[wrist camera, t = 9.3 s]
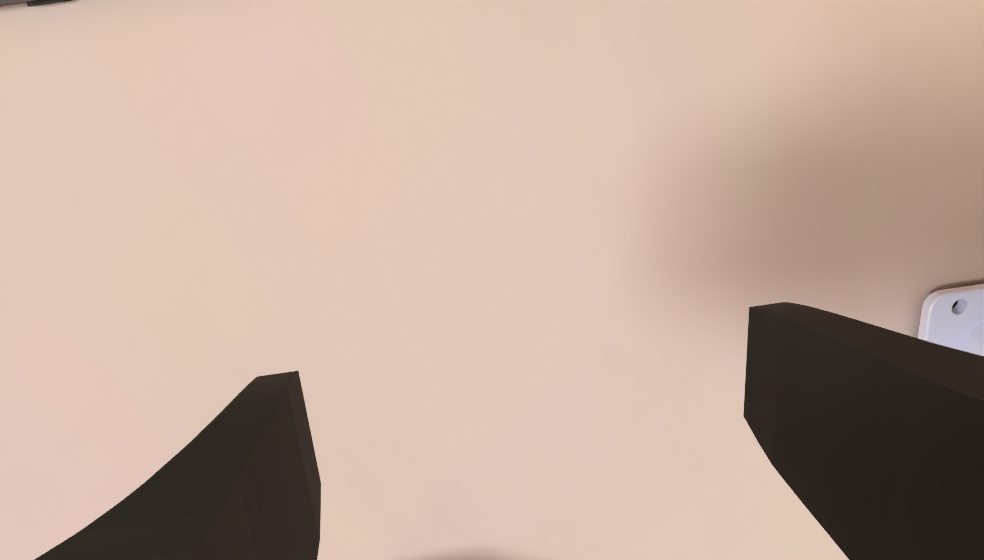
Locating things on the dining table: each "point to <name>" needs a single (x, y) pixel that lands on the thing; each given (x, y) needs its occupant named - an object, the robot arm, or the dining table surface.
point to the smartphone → (29, 2)
